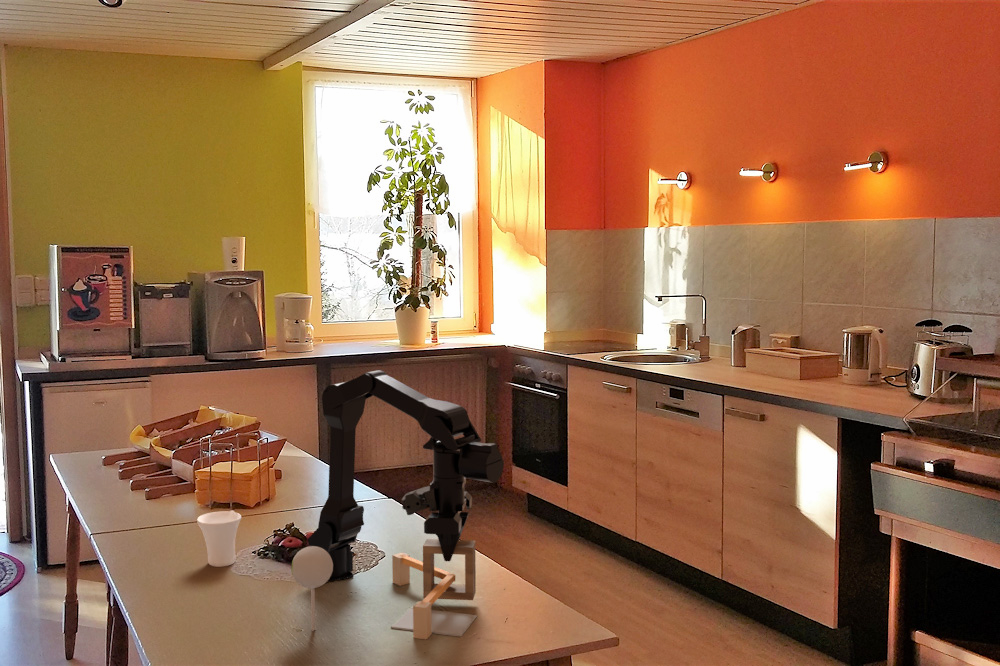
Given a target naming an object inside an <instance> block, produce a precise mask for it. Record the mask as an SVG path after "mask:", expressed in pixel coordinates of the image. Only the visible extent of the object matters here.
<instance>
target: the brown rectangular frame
mask: <svg viewBox="0 0 1000 666" xmlns="http://www.w3.org/2000/svg"><path fill="white" fill-rule="evenodd" d="M435 554H436V555H443V553H442V550H441V546H440V542H439V539H438V538H437V539H435V538H426V540H425V541H424V543H423V545H422V562H423V571H422V577H423V578H422V582H423V583H422V585H423V587H422V591H423V593H422V598H423V599H422V600H424V598H425V597H426V596H427V595H428V594H429V593H430V592H431V591H432V590H433V589H434V588H435V587H436V586H437V585H438V584H439V583H435V576H434V567H435ZM453 555H463V556H464V571H465V572H464V575H465V577H464V579H465V580H464V581H465V582H464V584H457V583H452V584H451V585H450V586H449V587H448V588H447V589H446V590H445V591H444V592H443V594H442V595H441V596H440V597H439V598H438V599H437V600H453V601H454V600H455V601H456V600H458V601H474V597H475V595H476V590H477V588H476V578H477V577H476V572H477V571H476V570H477V569H476V540H473V539H472V540H471V539H470V540H469V539H459V540H458V542H457V545H456V547H455V550H454V553H453Z"/></svg>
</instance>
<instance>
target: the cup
mask: <svg viewBox="0 0 1000 666" xmlns="http://www.w3.org/2000/svg"><path fill="white" fill-rule="evenodd" d="M241 520H242V515H241V514H240V513H238V512H235V511H234V510H233V509H231V510H229V511H227V510H226V511H225V510H223V511H222V510H221V511H213V512H207V513H204V514H200V516H198V517H197V521H196V522H197V525H198V526H199V528H200V530H201V532H202V535H203V539H204V540H205V545H206V552H207V562H208V564H209V565H210V566H211V567H218V568H219V567H220V568H221V567H227V566H231V565H233V564H234V563H235V562H236V536H237V532H238V527H239V524H240V522H241Z"/></svg>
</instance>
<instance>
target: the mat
mask: <svg viewBox="0 0 1000 666" xmlns="http://www.w3.org/2000/svg"><path fill="white" fill-rule="evenodd" d="M476 619H477V614H468V613H461V612H453V611H443V610H434V609H431V634H435V635H444V636H451V637H460V638H461V637H463V635H464V634H465V633H466V631H467V630H468V628H469V627H470V626H471V625H472V624H473V622H474V621H475V620H476ZM390 629H395V630H403V631H412V632H413V607H408V609H406V610H405V612H404V613H402V615H400V617H399V618H398V619H397V620H396V621H395V622H394V623H393V624H392V625H391V626H390Z"/></svg>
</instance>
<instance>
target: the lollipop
mask: <svg viewBox="0 0 1000 666" xmlns="http://www.w3.org/2000/svg"><path fill="white" fill-rule="evenodd" d="M290 569H291V575H292V577H293V580H294V581H295V582H296V583H297V585H299V586H301V587H302V588H306V589H310V607H311V608H310V611H311V613H310V615H311V616H310V617H311V631H312V632H315V631H316V598H315V597H316V594H315V592H316V591H315V589H316V588H319V587H321V586H323V585H325V584H326V583H328V582H327V581H328V580H329V578H330V576H331V574H332V571H333V562H332V559H331V557H330V555H329V554H328V552H327V551H325V550H324V549H322V548H320V547H317V546H309V545H308V546H306V547H303V548H301V549H300V550H299V551H297V552H296V554H295V555H294V557H293V559H292V561H291V567H290ZM314 630H315V631H314Z"/></svg>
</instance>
